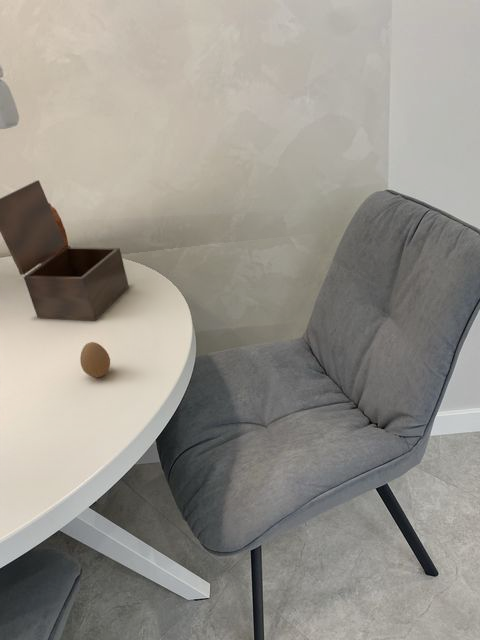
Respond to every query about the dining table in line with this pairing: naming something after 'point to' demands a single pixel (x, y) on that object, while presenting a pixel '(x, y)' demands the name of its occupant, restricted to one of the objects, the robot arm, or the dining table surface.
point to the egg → (94, 360)
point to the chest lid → (29, 227)
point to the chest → (77, 283)
